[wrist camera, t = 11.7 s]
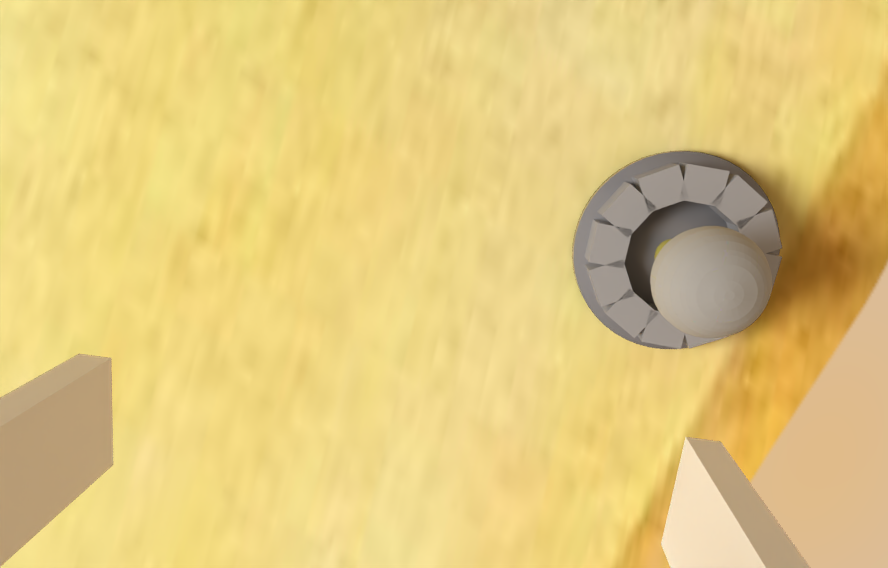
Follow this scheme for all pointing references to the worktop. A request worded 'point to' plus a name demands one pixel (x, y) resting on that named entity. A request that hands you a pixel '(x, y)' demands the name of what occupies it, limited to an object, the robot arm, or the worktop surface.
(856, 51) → the worktop surface
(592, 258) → the socket
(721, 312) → the light bulb
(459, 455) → the worktop surface
